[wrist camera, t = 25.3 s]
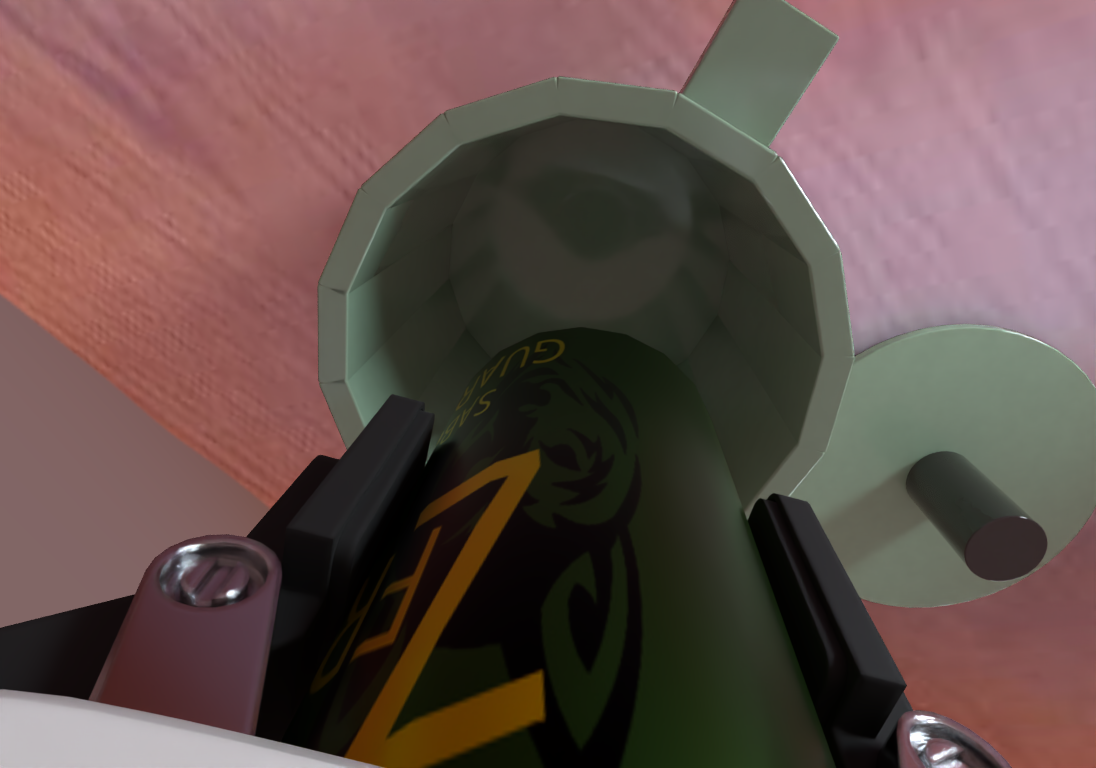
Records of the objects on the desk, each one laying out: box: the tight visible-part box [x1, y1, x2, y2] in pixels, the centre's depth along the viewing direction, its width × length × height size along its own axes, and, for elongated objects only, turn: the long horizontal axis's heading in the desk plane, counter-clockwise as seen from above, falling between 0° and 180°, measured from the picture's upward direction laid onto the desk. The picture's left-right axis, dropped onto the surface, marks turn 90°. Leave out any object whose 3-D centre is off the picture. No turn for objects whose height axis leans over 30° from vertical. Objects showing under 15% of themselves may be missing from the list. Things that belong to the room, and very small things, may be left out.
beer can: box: [281, 327, 836, 768], centre depth 9 cm, size 5×5×12 cm
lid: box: [790, 324, 1096, 608], centre depth 29 cm, size 15×15×7 cm
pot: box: [318, 0, 855, 520], centre depth 24 cm, size 14×19×14 cm
